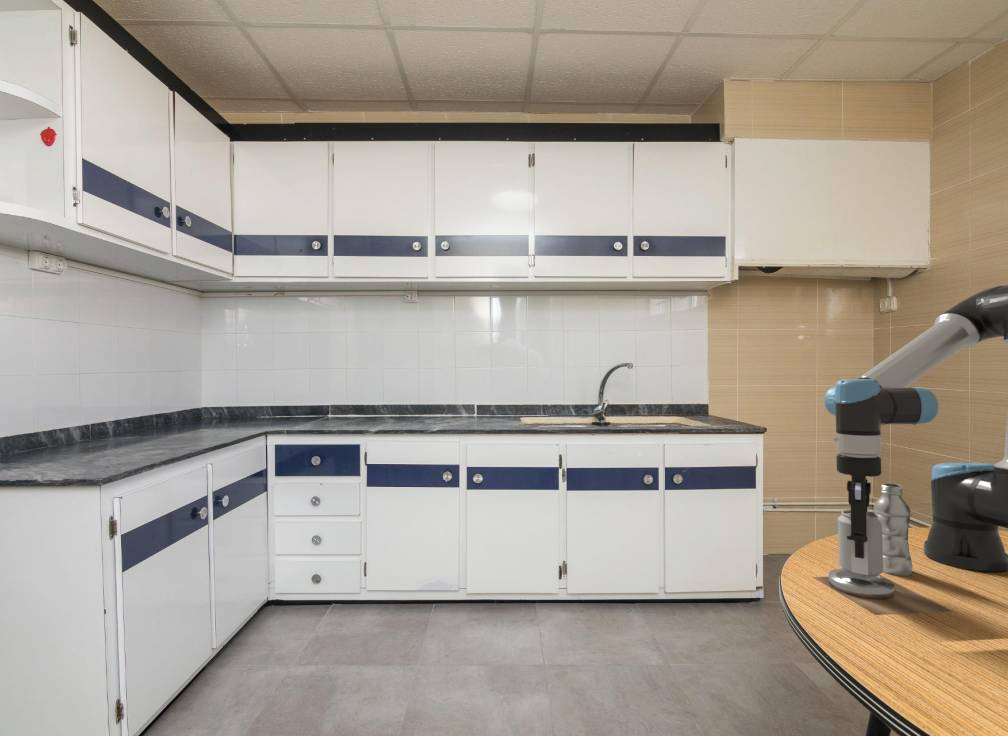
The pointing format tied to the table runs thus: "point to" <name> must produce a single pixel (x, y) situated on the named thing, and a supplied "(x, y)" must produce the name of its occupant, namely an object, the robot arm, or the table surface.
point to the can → (873, 543)
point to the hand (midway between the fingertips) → (860, 566)
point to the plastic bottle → (894, 530)
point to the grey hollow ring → (861, 585)
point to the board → (894, 601)
